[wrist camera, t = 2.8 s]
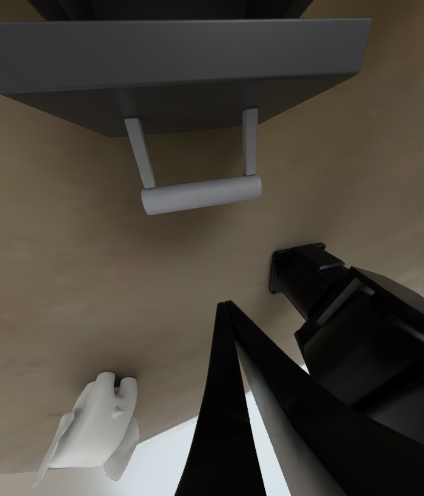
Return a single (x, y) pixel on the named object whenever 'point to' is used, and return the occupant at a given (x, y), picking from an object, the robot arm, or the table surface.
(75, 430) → the elephant figurine
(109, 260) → the table surface
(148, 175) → the box with white handle
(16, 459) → the table surface
